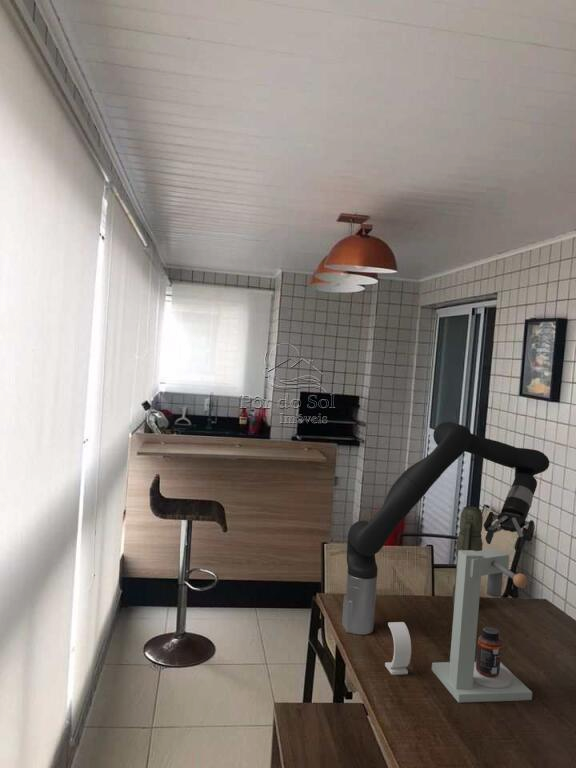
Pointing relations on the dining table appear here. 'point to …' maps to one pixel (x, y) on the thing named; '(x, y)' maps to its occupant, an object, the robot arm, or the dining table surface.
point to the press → (462, 664)
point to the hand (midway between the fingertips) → (501, 545)
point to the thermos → (469, 533)
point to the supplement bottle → (489, 653)
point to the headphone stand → (399, 648)
